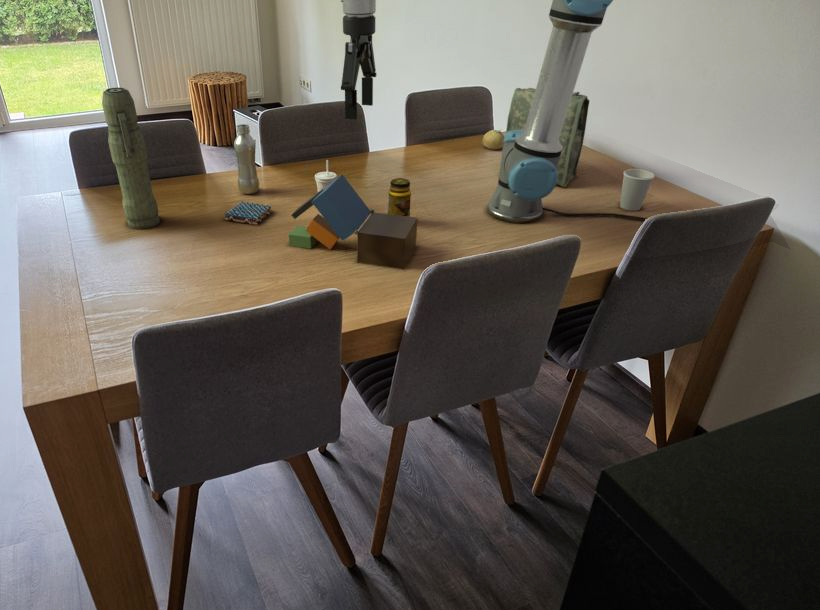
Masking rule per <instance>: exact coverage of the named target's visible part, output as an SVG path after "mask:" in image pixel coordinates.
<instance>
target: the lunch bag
mask: <svg viewBox="0 0 820 610" xmlns="http://www.w3.org/2000/svg"><path fill="white" fill-rule="evenodd" d="M535 90H536V88H534V87H528V88H521V87H516V88H515V89H514V90H513V91H514V92H513V94H512V98H511V102H510V105H509V106H510V107H509V110H508V115H507V123H506V130H505V134H506V133H507V132H508V131H511V130H525V127H526V123H527V120H528V116H529V112H530V109H531V105H532V101H533V98H534V94H535ZM589 106H590V99H589V98H588V95H585V94H580V91H574V92H573V95H572V98H571V101H570V105H569V108H568V111H567V114H566V118H565V121H564V124H563V127H562V131H561V134H560V137H559V142H560V144H561V145H562V147H563V149H562V152H561V155H560V158H559V162H558V165H557V171H558V179H557V184H556V186H560V187H562V188H565V187H566V186H567V185H568V184H569V183H570V181H571V180H573V178H576V176H577V170H578V166H579V162H580V158H581V153H582V149H583V145H584V139H585V134H586V129H587V127H586V126H587V120H588V113H589Z"/></svg>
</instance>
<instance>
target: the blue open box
mask: <svg viewBox="0 0 820 610" xmlns="http://www.w3.org/2000/svg"><path fill="white" fill-rule="evenodd" d="M311 207H314V208H316V210H317V211H318V213H319V214H320V215H321V216H322V217H323V218H325V220H326V221H327V222H328V224H329V225H330V226H331V227H332V229H333V230H334V231H335V232H336V234H337V235H338V236H339V237H340V238H339V239H340V240H341V241H342V242H344V241H345V240H346V239H348V238H349V237H351V236H353V235H354V231H355V230H358V231H359V230H360V228H361V227H362V226H363V224H364V223H365V222H366V220H367V219H368V218H369V216H370V215H371V214H372V213H371V209H369V207H368V206H367V204H366V203H365V202H364V201H363V199H362V198H361V197H360V195H359V194H358V192H357V191H356V190H355V188H354V187H353V186H352V185H351V184H350V182H349V181H348V180H347V178H346V177H345V176H344V175H343V174H340V175H339V176H337V179H335V180H334V181H333V182H331V183H330V184H329V185H328V186H327V187H326V188H325V189H324V190H323V189H322V190H321V191H319V192H318V191H317V192H316V193H315V194H314V195H313V196H312V197H310V198H309V199H307V200H306V201H305V202H304V203H302V204H301V205H300V206H299V207H297V208H296V210H294V212H292V214H291V217H292V218H293V219H294V220H296V219H297V218H299V217H300V216H301V215H302V214H303V213H305V212H306V211H307V210H309V209H311Z"/></svg>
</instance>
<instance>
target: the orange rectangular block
mask: <svg viewBox="0 0 820 610" xmlns="http://www.w3.org/2000/svg"><path fill="white" fill-rule="evenodd" d="M306 231H307V232H308V233H309V234H311V235H312V236H313V237H314V238H316V239H317V240H318V241H317V242H320V243H321V244H323V246H325V247H326V248H328V249H329V250H332V249H333V248H334V246H335V245H336V244H337V242H338V241H339V239H340V237H339V236H338V235H337V234H336V232H335V231H334V230H333V229H332V227H331V226H330V225H329V224H328V222H327V221H326V220H325V218H324V217H323V216H322V215H321V214H320V213H317V214H316V216H314V217H313V219H311V221H310V223H309V224H308V225H307V229H306Z"/></svg>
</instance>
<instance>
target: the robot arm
mask: <svg viewBox="0 0 820 610" xmlns="http://www.w3.org/2000/svg"><path fill="white" fill-rule="evenodd" d="M613 1H614V0H552V2H551V6H550V9H549V13H548V18H549V20H550V22H551V23H552V27H551V28H552V29H551V32H550V35H549V39H548V43H547V47H546V51H545V54H544V58H543V61H542V65H541V68H540V72H539V76H538V81H537V83H536V87H535V89H536V90H535V94H534V98H533V101H532V105H531V109H530V112H529V116H528V120H527V123H526V127H525V130H511V131H508V132H507V133H506V132H505V134H504V141H503V147H502V150H501V158H500V166H499V171H498V172H499V173H498V180H497V185H496V187H495V189H494V192H493V193H492V195H491V198H490V200H489V202H488V204H487V213H488V214H489V215H490V216H491V217H493V218H494V219H496V220H499V221H503V222H507V223H513V224H514V223H515V224H526V223H532V222H536V221H538V220H540V219H541V218H542V216H543V211H546V212H550V213H553V214H556V215H560V216H565V217H582V216H583V217H584V216H586V217H587V216H588V217H589V216H590V217H595V216H596V217H597V216H601V217H603V216H606V217H619V218H625V219H632V220H640V221H645V219H647V218H648V217H642V216H637V215H635V216H634V215H628V214H621V213H612V212H578V213H577V212H573V213H571V212H561V211H558V210H555V209H551V208H547V207H543V201H542V199H544V198H546V197H548V196H549V195H550V194H551V193H552V192H553V191H554V190H555V188H556V186H557V185H556V184H557V179H558V171H557V165H558V162H559V158H560V155H561V152H562V149H563V147H562V145H561V144H560V142H559V137H560V134H561V131H562V127H563V124H564V121H565V118H566V114H567V111H568V108H569V105H570V101H571V98H572V95H573V93H574V92H575V88H576V85H577V81H578V79H579V76H580V71H581V68H582V65H583V63H584V58H585V57H586V56H585V55H586V54H587V49H588V46H589V42H590V39H591V37H592V33H593V32H594V31H595V30H597V29H598V28H600V27H601V26H602V25H603V21H604V18H605V15H606V12H607V9H608V7H609V6H611V4H612V2H613ZM340 2H341V3H342V14H344V16H343V17H342V33H343V34H344V35H346V36H349V39H350V40H349V41H346V42H345V44H344V45H345V46H344V58H343V59H344V60H343V69H342V76H341V85H340V90H341V91H344V117H345V118H344V119H345V120H357V119H358V90H357V89H356V87H357V82H358V77H359V71H360V69H361V73H362V77H361V106H369V107H371V106H373V105H374V102H373V101H374V78H377V72H376V71H377V70H376V62H375V54H374V46H373V45H374V44H373V35H374V34H375V33H376V16H375V15H374V14H376V12H377V0H340Z"/></svg>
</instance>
